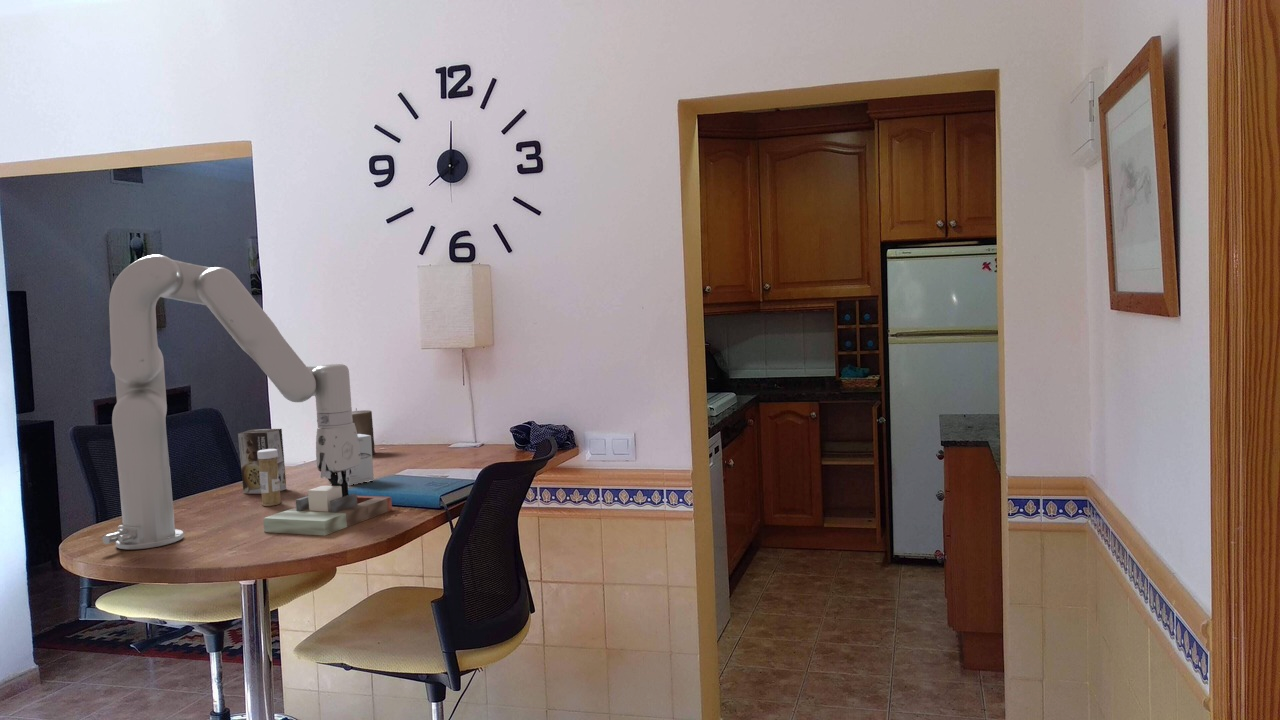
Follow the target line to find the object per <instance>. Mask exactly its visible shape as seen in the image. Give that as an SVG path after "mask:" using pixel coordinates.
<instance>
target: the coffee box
mask: <svg viewBox="0 0 1280 720" xmlns="http://www.w3.org/2000/svg"><path fill="white" fill-rule="evenodd" d="M237 437H238V438H237V439H238V447H239V459H240V467H241V469H240V470H241V480H242V492H243V494H244V495H247V494H250V495H251V494H255V495H256V494H258V495H262V494H261V486H260V474H259V471H260V470H259V461H258V455H257V452H258V451H259V450H264V449H277V452H278V457H277V463H278V472H279V483H280V492H281V491H284V490H287V480H286V479H287V477H286V467H285V454H284V442H283V441H284V440H283V430H282V428H262V429H261V428H259V429H258V428H257V429H256V428H254V429H248V430H246V431H245V430H244V431H242V432H238V433H237Z"/></svg>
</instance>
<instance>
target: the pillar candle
mask: <svg viewBox="0 0 1280 720" xmlns="http://www.w3.org/2000/svg"><path fill="white" fill-rule="evenodd" d="M352 420H353V423H354V424H355V427H356V431H357V434H365V435H370V436H371V443H372V455H375V454H376V451H375V439H374V425H373V412H372V410H369V409H368V410H367V409H365V410H357V407H355V410H352Z"/></svg>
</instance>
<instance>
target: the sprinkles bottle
mask: <svg viewBox="0 0 1280 720" xmlns="http://www.w3.org/2000/svg"><path fill="white" fill-rule="evenodd" d="M257 455H258V461H259V470H260V471H259V474H260V486H261V494H260V495H261V505H262V506H263V507H274V506H278V505H280V504H281V503H282V499H281V491H280V483H279V472H278V463H277V457H278V452H277V449H264V450H259V451H258V452H257Z"/></svg>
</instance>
